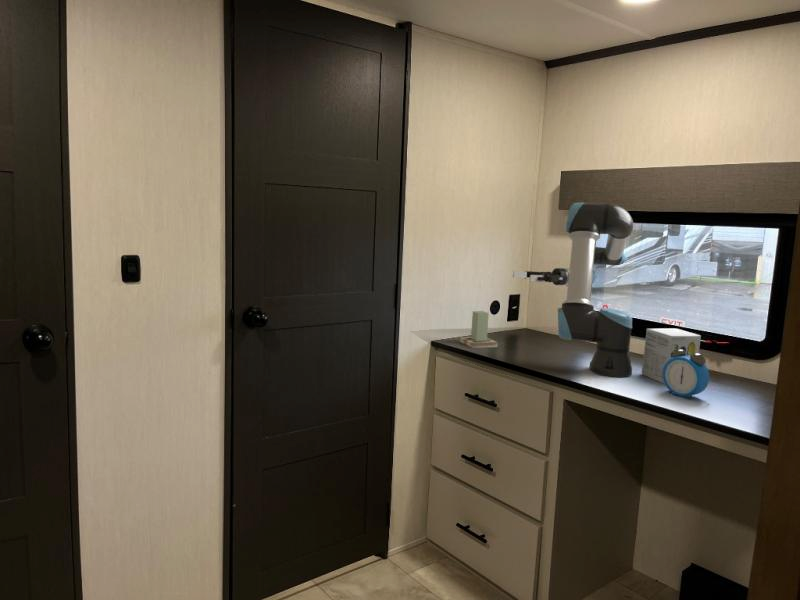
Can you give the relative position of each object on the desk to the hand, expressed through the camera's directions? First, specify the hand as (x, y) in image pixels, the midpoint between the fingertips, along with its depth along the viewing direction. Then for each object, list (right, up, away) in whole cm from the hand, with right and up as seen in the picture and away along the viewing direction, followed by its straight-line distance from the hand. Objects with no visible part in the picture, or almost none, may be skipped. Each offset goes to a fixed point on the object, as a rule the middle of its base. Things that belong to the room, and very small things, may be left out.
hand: (521, 276), depth 263 cm
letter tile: (-19, -29, 0) cm, 35 cm away
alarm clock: (+41, -42, -62) cm, 85 cm away
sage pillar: (-19, -27, 0) cm, 33 cm away
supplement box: (+45, -39, -41) cm, 73 cm away
